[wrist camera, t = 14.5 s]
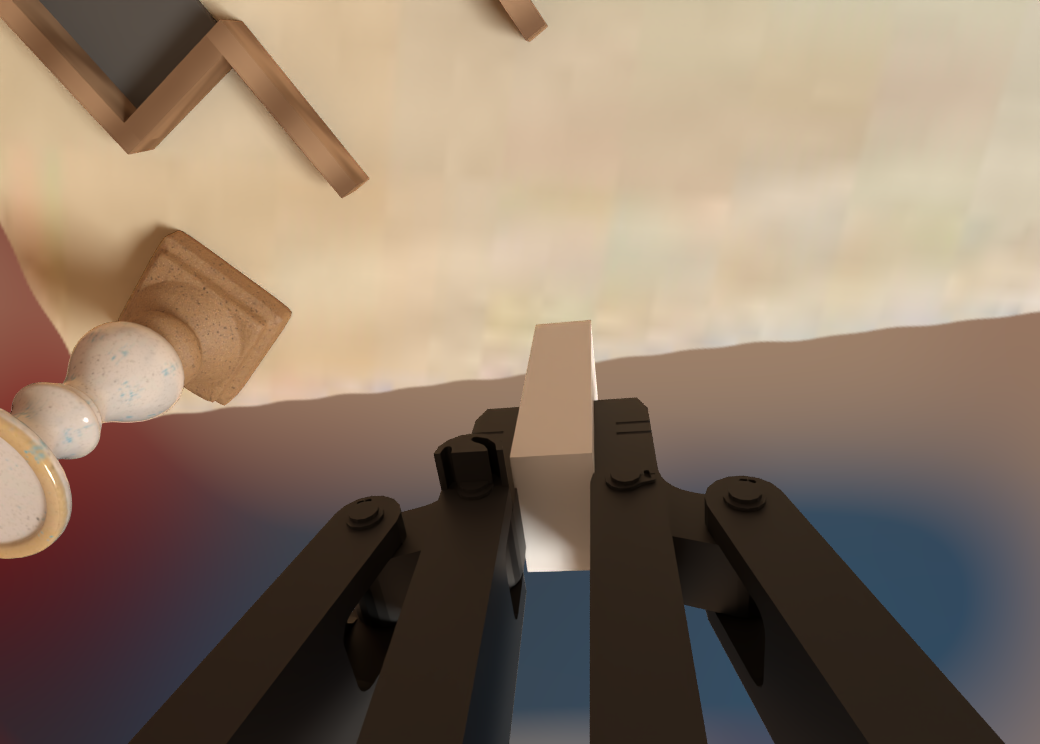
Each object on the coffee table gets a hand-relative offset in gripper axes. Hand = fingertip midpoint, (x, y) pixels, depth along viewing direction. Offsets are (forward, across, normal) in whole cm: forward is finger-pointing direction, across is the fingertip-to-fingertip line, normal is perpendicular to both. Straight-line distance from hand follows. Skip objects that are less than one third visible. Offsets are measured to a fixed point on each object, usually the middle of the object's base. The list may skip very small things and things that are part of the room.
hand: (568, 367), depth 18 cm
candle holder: (+32, -32, -8) cm, 46 cm away
